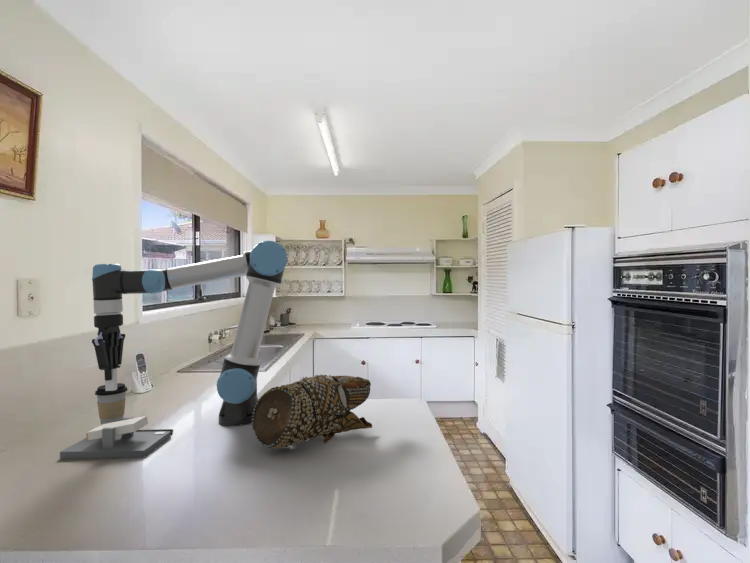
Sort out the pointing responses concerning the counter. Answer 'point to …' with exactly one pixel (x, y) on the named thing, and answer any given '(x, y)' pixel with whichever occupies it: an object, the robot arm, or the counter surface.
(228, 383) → the robot arm
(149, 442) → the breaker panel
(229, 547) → the counter surface
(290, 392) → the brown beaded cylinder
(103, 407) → the coffee cup
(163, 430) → the cords
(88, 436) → the plate
